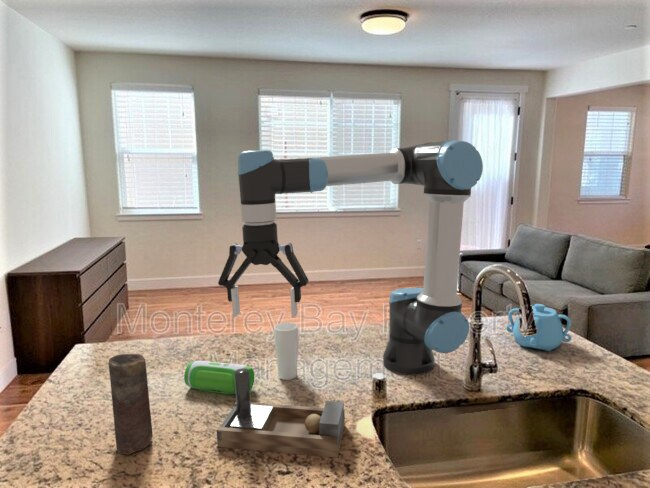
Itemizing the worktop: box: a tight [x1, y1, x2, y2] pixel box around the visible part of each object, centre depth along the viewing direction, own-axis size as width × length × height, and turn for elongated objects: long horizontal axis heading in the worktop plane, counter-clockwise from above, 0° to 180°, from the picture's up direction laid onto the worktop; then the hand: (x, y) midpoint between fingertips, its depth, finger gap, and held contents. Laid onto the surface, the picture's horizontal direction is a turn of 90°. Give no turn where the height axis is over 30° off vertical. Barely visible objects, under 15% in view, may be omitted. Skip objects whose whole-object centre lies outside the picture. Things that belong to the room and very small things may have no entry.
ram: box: [230, 368, 274, 431], centre depth 101 cm, size 7×9×13 cm
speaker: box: [183, 360, 255, 395], centre depth 122 cm, size 18×7×8 cm, turn 75°
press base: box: [216, 400, 346, 459], centre depth 101 cm, size 26×12×6 cm, turn 81°
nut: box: [305, 414, 321, 433], centre depth 100 cm, size 4×4×4 cm
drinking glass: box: [273, 321, 300, 381], centre depth 128 cm, size 7×7×15 cm
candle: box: [108, 353, 154, 455], centre depth 97 cm, size 8×7×20 cm
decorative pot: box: [506, 303, 572, 352], centre depth 149 cm, size 16×16×14 cm
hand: (265, 315), depth 104 cm, fingers open, 13 cm apart
